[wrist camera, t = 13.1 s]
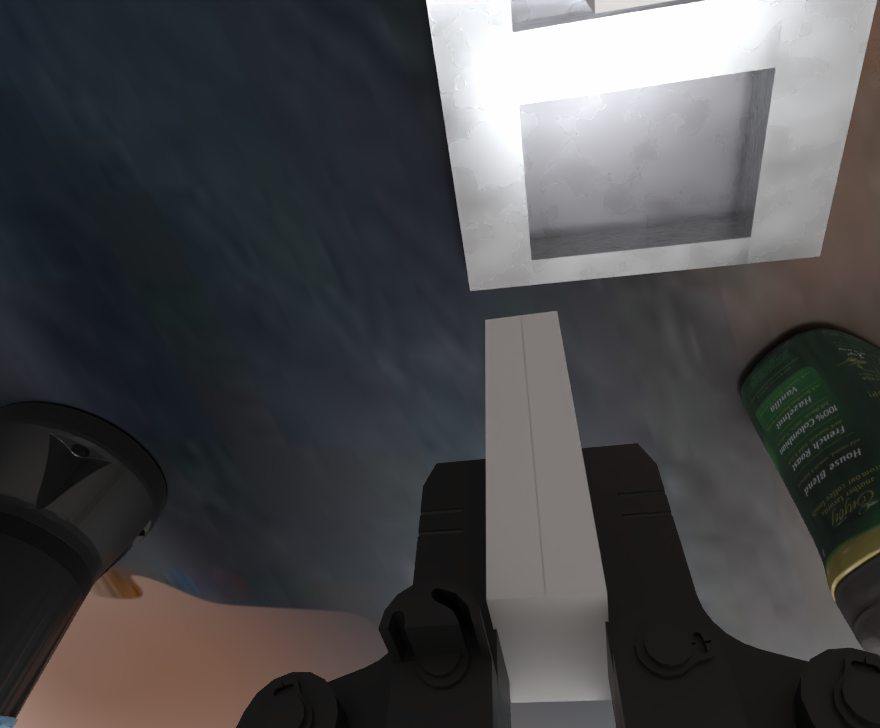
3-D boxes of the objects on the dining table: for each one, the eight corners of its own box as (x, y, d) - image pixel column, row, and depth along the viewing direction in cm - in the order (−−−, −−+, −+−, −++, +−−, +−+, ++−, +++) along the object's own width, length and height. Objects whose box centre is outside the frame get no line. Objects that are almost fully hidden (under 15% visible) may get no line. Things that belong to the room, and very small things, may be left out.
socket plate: (472, 265, 37) (470, 291, 35) (398, -239, 24) (387, -253, 22) (797, 230, 34) (819, 256, 32) (913, -363, 21) (964, -395, 19)
